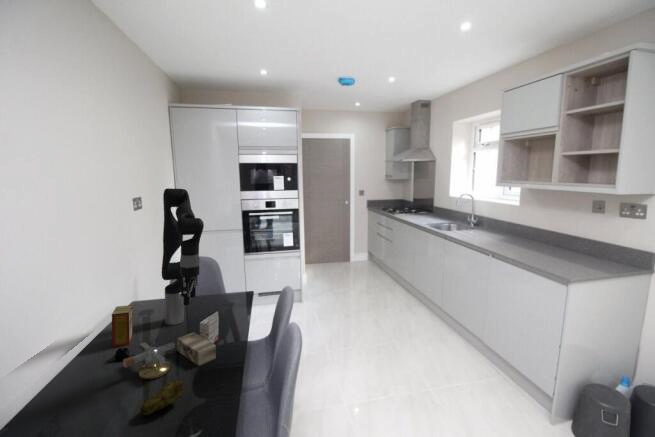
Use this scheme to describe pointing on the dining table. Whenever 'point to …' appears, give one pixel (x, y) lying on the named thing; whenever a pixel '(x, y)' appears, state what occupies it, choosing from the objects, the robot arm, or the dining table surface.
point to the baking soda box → (122, 326)
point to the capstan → (151, 361)
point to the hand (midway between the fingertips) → (189, 301)
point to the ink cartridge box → (210, 328)
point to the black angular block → (120, 355)
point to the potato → (163, 397)
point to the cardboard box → (196, 348)
